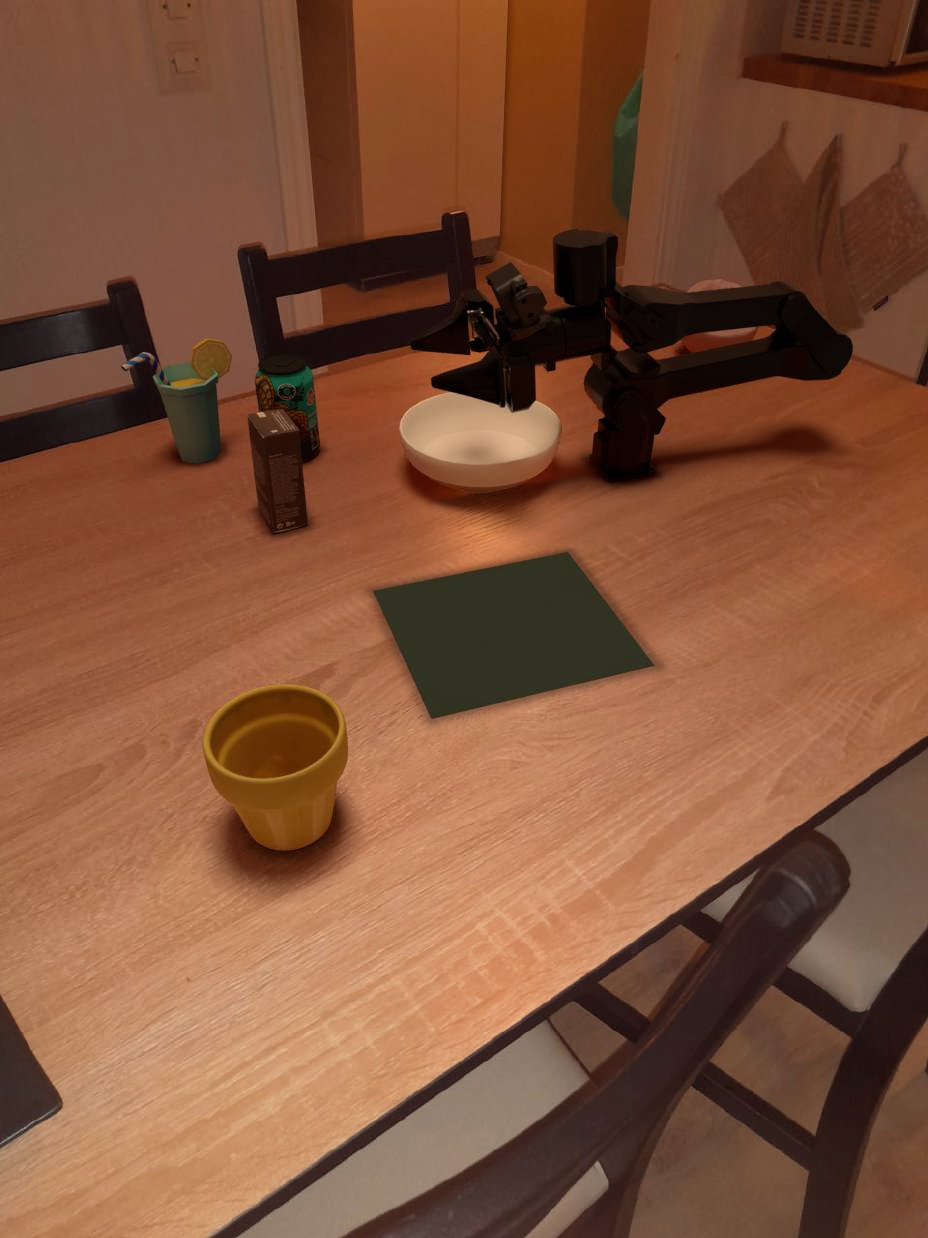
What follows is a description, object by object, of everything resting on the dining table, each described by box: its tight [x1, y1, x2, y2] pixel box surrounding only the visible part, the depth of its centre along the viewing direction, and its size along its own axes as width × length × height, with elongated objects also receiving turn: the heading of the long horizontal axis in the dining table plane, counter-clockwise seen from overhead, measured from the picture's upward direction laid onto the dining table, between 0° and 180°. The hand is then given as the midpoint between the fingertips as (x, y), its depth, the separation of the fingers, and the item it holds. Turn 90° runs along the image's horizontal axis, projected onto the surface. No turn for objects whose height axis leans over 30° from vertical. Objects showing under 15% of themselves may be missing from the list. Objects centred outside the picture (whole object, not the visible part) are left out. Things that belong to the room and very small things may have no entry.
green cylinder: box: [254, 352, 321, 462], centre depth 119 cm, size 7×7×12 cm
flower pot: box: [202, 683, 349, 852], centre depth 73 cm, size 10×10×10 cm
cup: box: [120, 337, 233, 465], centre depth 118 cm, size 14×8×15 cm, turn 139°
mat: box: [372, 551, 655, 720], centre depth 95 cm, size 22×20×1 cm
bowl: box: [398, 392, 563, 494], centre depth 118 cm, size 20×20×6 cm
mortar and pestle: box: [680, 278, 760, 353], centre depth 143 cm, size 12×12×11 cm
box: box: [247, 409, 309, 534], centre depth 107 cm, size 6×4×12 cm
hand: (420, 363), depth 105 cm, fingers open, 9 cm apart
